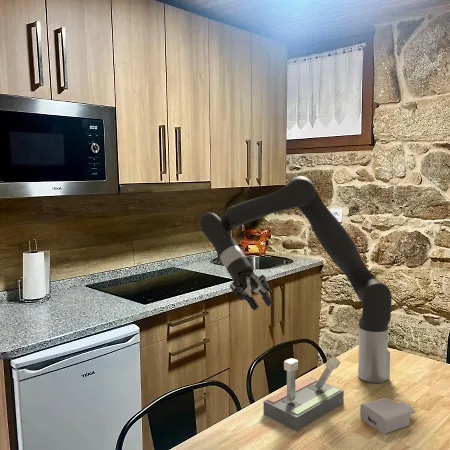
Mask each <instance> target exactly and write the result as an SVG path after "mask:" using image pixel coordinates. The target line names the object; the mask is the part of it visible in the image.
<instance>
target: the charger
mask: <svg viewBox="0 0 450 450" xmlns="http://www.w3.org/2000/svg"><path fill="white" fill-rule="evenodd" d="M359 409H360V411H359V414H360V415H359V416H360V419H361V420H362V421H364V422H365V423H367V424H368V425H369V426H371V427H372V428H374V429H375V430H377V431H379V432H380V433H381V434H383V435H385V434H389V433H391V432H393V431H397V430H400V429H403V428H406V427H408V426H410V416H411V415H414V414H415V413H416V411H415V410H414V409H416V406H411V403H407V402H404V401H401V402H400V401H399V402H396V401H394V400H393V399H391V398H388V397H387V396H386V397H383V398H378V399H376V400H372V401H368V402H366V403H365V402H364V403H362V404H360V407H359Z"/></svg>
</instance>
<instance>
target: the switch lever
mask: <svg viewBox="0 0 450 450" xmlns="http://www.w3.org/2000/svg"><path fill="white" fill-rule="evenodd" d="M283 369H284V371H286V390H287V400H289V401H293V400H294V399H295V385H296V371H297V370H298V369H299V360H298V359H295V358H289V359H285V360H284V361H283Z"/></svg>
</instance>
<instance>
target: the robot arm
mask: <svg viewBox="0 0 450 450" xmlns="http://www.w3.org/2000/svg"><path fill="white" fill-rule="evenodd" d="M295 208H298V210H300V211H301V212H302V214H303V215H304V216H305V218H306V219H307V221H308V223H309V224H310V227H311V228H312V231H313V232H314V235H315V237H316V239H317V240H318V241H319V244H320V245H321V247H322V248H323V249H324V251H325V252H326V254H327V255H328V257H329V258H330V259H331V260H332V261H333V264H335V265H336V266H337V267H338V269H340V271H341V272H342V273H343V274H344V275H345V277H346V278H347V280H348V282H349V283H350V284H351V287H352V288H353V289H352V290H353V291H354V292H355V294H356V296H357V297H358V299H359V300H360V302H361V303H362V314H361V316H360V318H359V319H358V359H357V360H358V365H357V366H358V368H357V369H358V370H357V375H358V378H360V380H362V381H364V382H367V383H371V384H382V383H385V382H386V381H387V380H390V379H391V376H390V375H391V351H390V350H388V349H389V347H388V345H389V325H390V322H391V318H392V317H391V315H392V300H393V299H392V292H391V290H390V288H389V287H388V286H387V285H386V284H385V283H383V282H382V281H380V280H379V279H378V278H376V277H375V275H373V273H372V272H371V271H370V270H369V268H368V267H367V266H366V264H365V263H364V262H363V259H362V257H361V255H360V251H359V250H358V248H357V245H356V243H355V242H354V240H353V238H352V237H351V235H350V234H349V233H348V231H347V230H346V229H345V227H344V226H343V225H342V224H341V222H340V221H339V220H338V219H337V217H336V216H334V214H333V213H332V212H331V211H330V210H329V209H328V208H327V206H326V205H325V203H324V201H323V200H322V198H321V196H320V195H319V193H318V191H317V189H316V188H315V186H314V183H313V182H312V180H311V179H309V177H306V176H302V175H297V176H294V177H292V178H291V179H289V181H288V182H287V184H286V185H285V186H283V187H281V188H280V189H278V190H276V191H274V192H271V193H269V194H266V195H263V196H260V197H256V198H255V197H254V198H252V199H249V200H246V201H243V202H239V203H237V204H235V205H233V206H229V207H228V208H226V210H225V214H222V215H221V216H218V215H217V214H215V212H211V211H209V212H208V211H207V212H205V213H203V214H202V215H201V216H200V218H199V221H198V222H199V228H200V230H201V231H202V233H203V234H204V236H205V237H206V238H207V239H208V241H209V242H210V244H211V245H212V246H213V248H214V249H215V251H216V254H218V256H219V258H220V260H221V262H222V264H223V266H224V268H225V269H226V271H227V273H228V275H229V276H230V278H231V279H232V280H233V281H232V282H231V283H230V284H229V287H230V289H231V291H233V293H234V295H236V297H237V298H238V299H239V300H240V301H243V300H245V301H246V302H247V304H248V305H249V306H250V309H252V310H253V311H256V310H258V309H259V307H260V306H259V303H258V302H257V301H256V298H254V296H253V295H252V291H253V292H254V293H256V294H258V295H260V296H261V299H262V300H263V301H264V303H265V305H266V306H267V307H270V306H272V305H273V300H272V298H271V296H270V295H269V293H268V292H269V291H271V287H270V285H269V282H268V280H267V278H266V276H265V275H264V274H261V275H257V274H256V273H254V267H253V266H252V263H251V262H250V261H249V260H248V259H249V258H247V256H246V255H245V253H244V252H243V250H242V249H241V248H240V247H239V245H238V244H237V242H236V240H235V239H234V237H233V236H232V235H231V234H230V232H231V231H233V230H235V228H238V227H240V226H244V225H246V224H249V223H251V222H254V221H256V220H258V219H261V218H263V217H266V216H268V215H271V214H275V213H278V212H281V211H285V210H289V209H295Z"/></svg>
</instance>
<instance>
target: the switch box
mask: <svg viewBox="0 0 450 450" xmlns="http://www.w3.org/2000/svg"><path fill="white" fill-rule="evenodd" d="M318 380H319V379H316V378H313V377H309V378H308V379H305V380H303V381H301V382H299V383H296V384H295V399H294V400H293V401H289V400H287V389H286V390H283V391H281V392H279V393H277V394H275V395H273V396H271V397H269V398H267V399H265V400H263V415H264V416H265V417H268V418H269V419H271V420H273V421H276V422H278V423H279V424H281V425H283V426H285V427H287V428H289V429H291V431H295V432H299V431H301V430H302V429H304V428H305V427H307V426H309V425H311V424H312V423H313V422H315V421H316V420H318V419H320V418H322V417H323V416H325V415H327V414H329V413H330V412H331V411H333V410H335V409H336V408H338V407H339V406H342V405H343V404H344V402H345V401H344V398H345V397H344V396H345V395H344V394H345V393H344V391H345V390H344V389H341V388H339V387H336V386H334V385H331V384H328V383H326V382H325V384H324V385H323V387H322V388H320V389H317V388H316V387H315V385H316V383H317V381H318Z"/></svg>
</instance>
